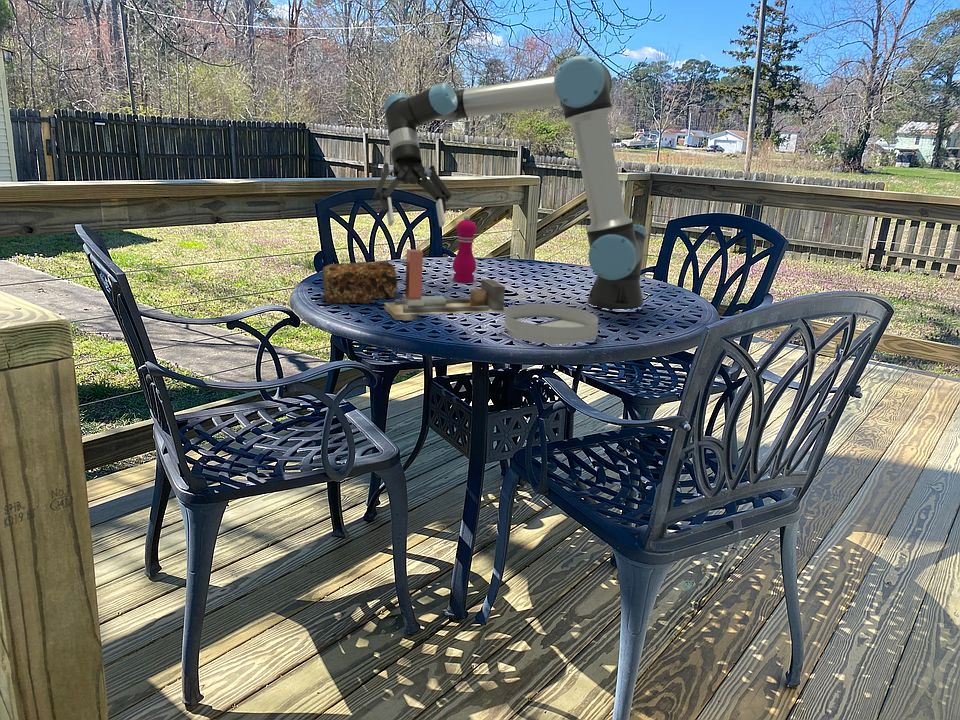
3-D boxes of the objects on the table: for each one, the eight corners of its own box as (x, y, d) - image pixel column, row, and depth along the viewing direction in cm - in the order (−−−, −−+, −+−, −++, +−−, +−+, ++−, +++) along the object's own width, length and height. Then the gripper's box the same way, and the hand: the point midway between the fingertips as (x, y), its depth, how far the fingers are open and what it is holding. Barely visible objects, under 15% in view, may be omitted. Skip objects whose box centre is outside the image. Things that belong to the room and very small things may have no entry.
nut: (488, 306, 189) (489, 291, 188) (478, 308, 186) (478, 293, 185) (477, 303, 192) (477, 288, 190) (466, 305, 189) (467, 290, 188)
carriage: (440, 303, 188) (442, 248, 184) (447, 308, 183) (449, 252, 179) (401, 304, 185) (403, 248, 181) (408, 309, 180) (410, 252, 175)
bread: (391, 295, 202) (392, 259, 199) (397, 304, 192) (398, 267, 189) (322, 295, 197) (322, 258, 194) (324, 304, 187) (324, 266, 184)
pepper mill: (474, 283, 223) (478, 217, 217) (451, 282, 223) (454, 215, 217) (475, 279, 230) (479, 214, 224) (452, 277, 230) (455, 212, 224)
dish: (497, 343, 164) (499, 322, 162) (507, 319, 185) (509, 300, 183) (597, 353, 161) (600, 331, 160) (596, 328, 182) (598, 308, 181)
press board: (493, 305, 197) (495, 278, 195) (510, 316, 187) (512, 287, 184) (383, 308, 187) (384, 279, 184) (395, 320, 176) (395, 290, 174)
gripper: (445, 160, 200) (458, 231, 195) (355, 155, 191) (365, 229, 185) (454, 145, 194) (467, 217, 188) (361, 139, 184) (372, 215, 179)
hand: (417, 223), depth 187 cm, fingers open, 13 cm apart
